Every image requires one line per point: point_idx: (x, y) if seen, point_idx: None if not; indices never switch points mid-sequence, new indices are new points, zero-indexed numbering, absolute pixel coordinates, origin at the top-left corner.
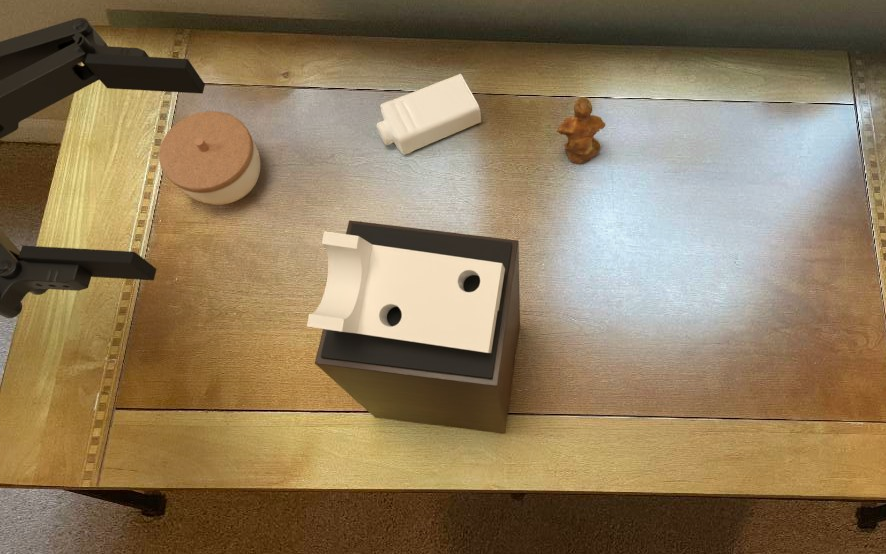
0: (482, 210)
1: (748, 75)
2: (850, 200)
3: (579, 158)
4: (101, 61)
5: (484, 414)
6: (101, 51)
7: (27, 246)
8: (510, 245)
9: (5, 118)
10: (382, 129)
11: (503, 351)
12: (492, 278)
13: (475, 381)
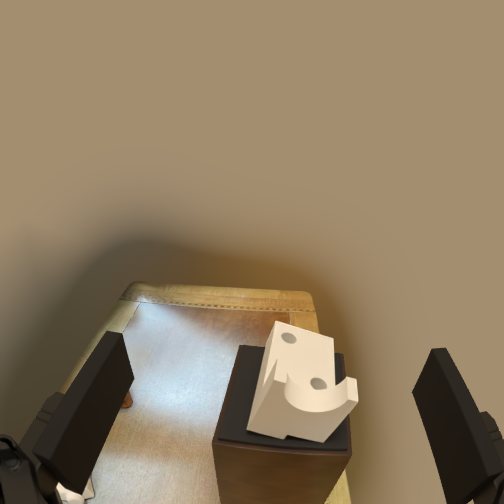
0: (150, 459)
1: (109, 328)
2: (186, 310)
3: (130, 400)
4: (58, 432)
5: None
6: (28, 447)
7: (486, 468)
8: (245, 345)
9: None
10: (73, 496)
11: None
12: (286, 326)
13: (343, 363)
